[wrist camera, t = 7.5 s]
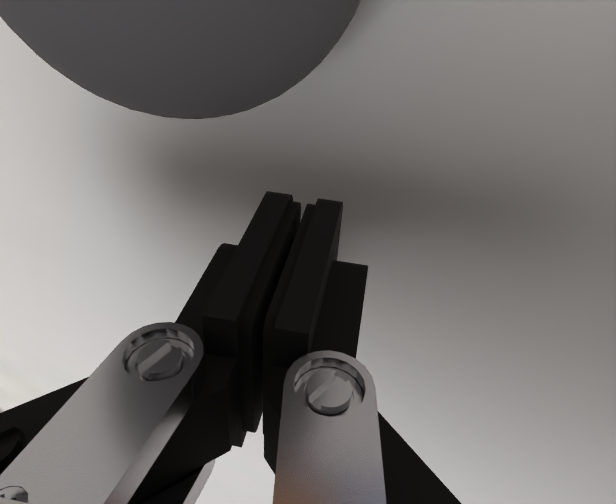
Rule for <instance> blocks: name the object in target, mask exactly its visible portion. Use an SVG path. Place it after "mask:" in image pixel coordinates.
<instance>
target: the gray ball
mask: <svg viewBox="0 0 616 504" xmlns="http://www.w3.org/2000/svg"><path fill="white" fill-rule="evenodd" d="M359 3H360V0H0V16H1V18H2V19H3V20H4V21H5V22H6V23H7V25H8V26H9V27H10V28H11V29H12V30H13V31H14V32H15V33H16V34H17V35H18V36H19V37H20V38H21V39H22V40H23V41H24V42H25V43H26V44H27V45H28V46H29V47H30V48H31V49H32V50H33V51H34V52H35V53H36V54H37V55H38V56H39V57H41V58H42V59H43V60H44V61H45V62H47V63H48V64H49V65H50V66H51V67H53V68H54V69H56V70H57V71H58V72H60V73H61V74H63V75H64V76H66V77H67V78H69V79H70V80H72V81H73V82H75V83H76V84H78V85H79V86H81V87H82V88H84V89H86V90H88V91H90V92H92V93H93V94H95V95H97V96H99V97H102V98H104V99H106V100H109V101H111V102H113V103H116V104H118V105H121V106H124V107H126V108H129V109H131V110H136V111H140V112H144V113H148V114H153V115H157V116H162V117H169V118H183V119H203V118H214V117H220V116H226V115H231V114H235V113H238V112H242V111H246V110H249V109H251V108H254V107H256V106H258V105H261V104H263V103H265V102H267V101H269V100H271V99H274V98H276V97H278V96H280V95H281V94H283V93H284V92H285V91H287V90H288V89H290V88H291V87H293V86H294V85H296V84H297V83H298V82H300V81H301V80H302V79H303V78H305V77H306V76H307V75H308V74H309V73H310V72H311V71H312V70H313V69H314V68H315V67H317V66H318V65H319V64H320V63H321V62H322V60H323V59H324V58H325V57H326V55H327V54H328V53H329V52H330V50H331V49H332V48H333V47H334V45H335V44H336V43H337V41H338V40H339V39H340V37H341V36H342V34H343V32H344V31H345V29H346V27H347V26H348V24H349V22H350V21H351V19H352V17H353V16H354V14H355V11H356V9H357V7H358V5H359Z"/></svg>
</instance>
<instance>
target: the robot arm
mask: <svg viewBox="0 0 616 504" xmlns="http://www.w3.org/2000/svg"><path fill="white" fill-rule="evenodd" d="M342 209H343V202H339V201H332V200H325V199H318V200H317V202H316V205H313V204H307V206H306V209H305V211H304V214H303V217H302V220H301V222H300V217H301V203H299V202H293V196H292V195H289V194H282V193H275V192H266V194H265V195H264V197H263V199H262V201H261V203H260V205H259V207H258V209H257V211H256V212H255V214H254V216H253V218H252V220H251V222H250V224H249V226H248V228H247V229H246V231H245V233H244V235H243V237H242V239H241V241H240V243H239V245H232V244H226V243H224V244H221V245H220V247H219V248H218V250H217V251H216V253H215V255H214V257H213V258H212V260H211V262H210V263H209V265H208V267H207V269H206V270H205V272H204V274H203V275H202V277H201V279H200V281H199V282H198V284H197V286H196V288H195V289H194V291H193V293H192V294H191V296H190V298H189V300H188V301H187V303H186V305H185V306H184V308H183V310H182V312H181V313H180V315H179V317H178V318H177V320H176V322H175V323H172V322H165V323H155V324H151V325H147V326H144V327H142V328H140V329H138V330H136V331H134V332H132V333H131V334H129V335H128V336H127V337H126V338H125V339H124V340H122V341H121V342H120V343H119V345H118V346H117V347H116V348H115V349H114V350H113V351H112V352H111V353H110V355H109V356H108V357H107V358H106V359H105V360H104V361H103V362H102V363H101V364H100V366H99V367H98V368H97V369H96V370H95V371H94V372H93V373H92V374H91V375H90V377H87V378H85V379H83V380H80V381H78V382H75V383H73V384H70V385H68V386H65V387H63V388H61V389H58V390H56V391H53V392H51V393H48V394H46V395H44V396H41V397H39V398H36V399H34V400H31V401H29V402H26V403H24V404H22V405H19V406H17V407H14V408H12V409H9V410H7V411H4V412H2V413H0V504H195V503H196V501H197V499H198V497H199V495H200V493H201V491H202V489H203V488H204V486H205V484H206V482H207V480H208V478H209V476H210V474H211V472H212V470H213V467H214V464H215V459H216V458H217V457H219V456H221V455H223V454H225V453H226V452H228V451H230V450H231V447H232V445H233V446H238V447H242V445H243V442H244V439H245V436H246V432H247V431H249V432H254V433H255V432H256V430H257V428H258V425H259V422H260V419H261V415H262V412H263V434H264V458H265V460H266V461H267V463H268V464H269V466H270V467H271V469H272V470H273V472H274V474H275V484H274V495H273V504H461V503H460V502H459V501H458V499H457V498H456V497H455V496H454V495H453V494H452V493H451V492H450V491H449V489H448V488H447V487H446V486H445V485H444V484H443V483H442V482H441V481H440V479H439V478H438V477H437V476H436V475H435V474H434V473H433V472H432V471H431V469H430V468H429V467H428V466H427V465H426V464H425V463H424V462H423V461H422V460H421V458H420V457H419V456H418V455H417V454H416V453H415V452H414V451H413V450H412V448H411V447H410V446H409V445H408V444H407V443H406V442H405V441H404V440H403V438H402V437H401V436H400V435H399V434H398V433H397V432H396V431H395V430H394V428H393V427H392V426H391V425H390V424H389V423H388V422H387V421H386V420H385V419H384V417H383V416H382V415H381V414H380V413H379V412H378V411H377V400H376V390H375V385H374V382H373V378H372V376H371V374H370V373H369V371H368V370H367V369H366V367H365V366H364V365H363V364H361V363H360V362H359V361H358V360H356V352H357V345H358V338H359V330H360V323H361V316H362V308H363V301H364V294H365V286H366V279H367V271H368V266H367V265H361V264H354V263H348V262H342V261H337V254H338V245H339V236H340V227H341V218H342Z"/></svg>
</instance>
